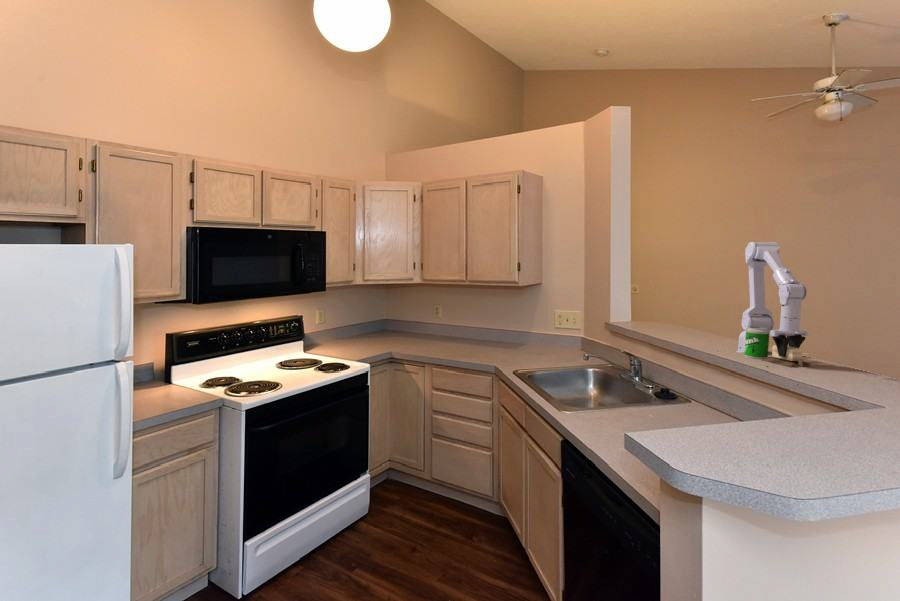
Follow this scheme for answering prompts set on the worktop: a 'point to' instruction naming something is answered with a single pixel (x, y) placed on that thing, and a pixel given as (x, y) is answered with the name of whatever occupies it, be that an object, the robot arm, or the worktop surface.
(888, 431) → the worktop surface
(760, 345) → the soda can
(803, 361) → the cradle
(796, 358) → the birch bar
